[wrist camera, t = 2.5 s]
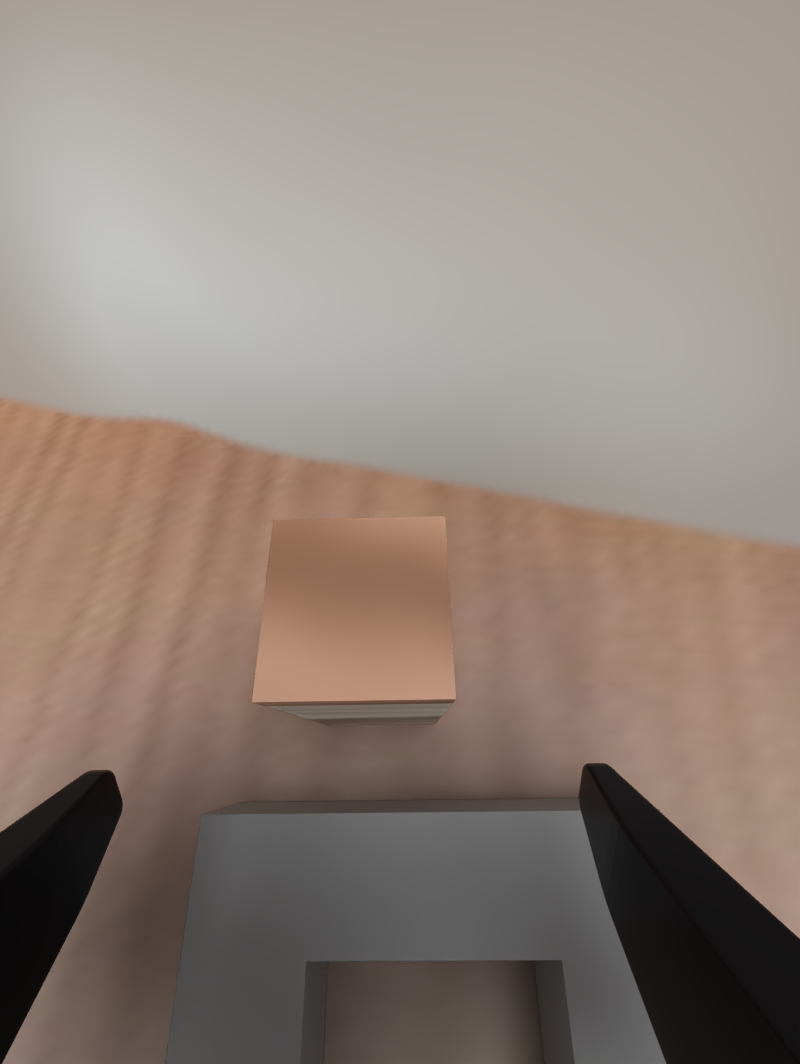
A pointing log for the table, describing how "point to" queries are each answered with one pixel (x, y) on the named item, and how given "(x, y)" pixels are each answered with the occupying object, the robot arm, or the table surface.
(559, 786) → the table surface
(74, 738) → the table surface
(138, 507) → the table surface
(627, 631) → the table surface
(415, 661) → the peg
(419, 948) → the socket block
